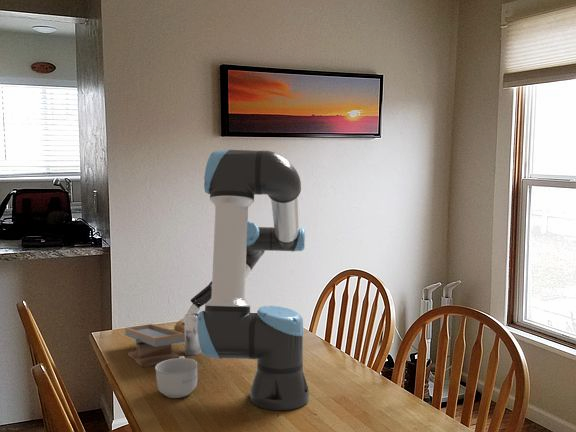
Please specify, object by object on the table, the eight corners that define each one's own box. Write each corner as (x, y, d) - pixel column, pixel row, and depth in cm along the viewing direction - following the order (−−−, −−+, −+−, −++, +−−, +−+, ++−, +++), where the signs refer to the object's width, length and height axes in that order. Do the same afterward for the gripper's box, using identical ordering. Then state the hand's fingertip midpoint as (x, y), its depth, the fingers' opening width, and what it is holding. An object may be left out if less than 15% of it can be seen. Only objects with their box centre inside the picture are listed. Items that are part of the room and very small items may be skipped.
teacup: (188, 404, 151) (188, 373, 151) (148, 399, 154) (148, 369, 153) (207, 383, 165) (207, 355, 164) (169, 379, 167) (169, 351, 166)
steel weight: (203, 353, 189) (203, 316, 188) (188, 356, 186) (188, 318, 185) (196, 349, 193) (196, 312, 192) (182, 351, 190) (181, 314, 189)
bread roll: (176, 342, 211) (166, 322, 209) (203, 328, 213) (193, 308, 212) (180, 351, 202) (170, 331, 200) (208, 336, 204) (198, 316, 202)
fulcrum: (180, 359, 183) (180, 343, 182) (141, 367, 176) (141, 350, 176) (164, 348, 193) (164, 333, 192) (128, 355, 186) (127, 339, 186)
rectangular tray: (188, 343, 176) (187, 332, 176) (152, 349, 170) (151, 338, 170) (155, 332, 198) (154, 323, 198) (122, 337, 192) (121, 328, 192)
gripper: (265, 288, 192) (227, 343, 184) (218, 275, 210) (182, 325, 202) (252, 273, 188) (213, 330, 180) (205, 262, 206) (168, 312, 198)
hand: (196, 327), depth 191 cm, fingers open, 13 cm apart
